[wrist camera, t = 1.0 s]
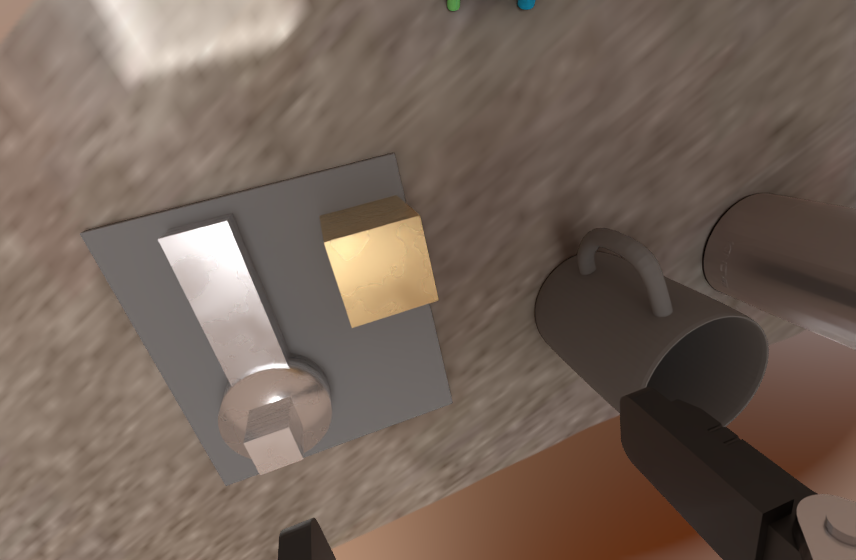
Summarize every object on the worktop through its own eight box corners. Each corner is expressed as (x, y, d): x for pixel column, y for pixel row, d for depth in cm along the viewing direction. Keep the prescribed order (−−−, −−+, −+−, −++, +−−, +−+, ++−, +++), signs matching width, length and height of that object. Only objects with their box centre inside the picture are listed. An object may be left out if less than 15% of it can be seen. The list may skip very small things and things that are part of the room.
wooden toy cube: (396, 195, 27) (419, 215, 22) (413, 265, 29) (438, 300, 24) (319, 216, 26) (323, 242, 21) (342, 287, 28) (351, 328, 23)
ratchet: (261, 205, 25) (251, 227, 20) (341, 416, 32) (348, 471, 27) (136, 238, 24) (94, 270, 19) (247, 449, 31) (236, 513, 26)
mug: (640, 314, 37) (777, 395, 26) (553, 368, 37) (656, 474, 26) (598, 176, 31) (754, 209, 20) (493, 239, 31) (596, 307, 20)
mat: (392, 152, 27) (394, 153, 26) (450, 398, 35) (452, 403, 34) (84, 230, 24) (79, 233, 23) (227, 479, 32) (225, 486, 31)
